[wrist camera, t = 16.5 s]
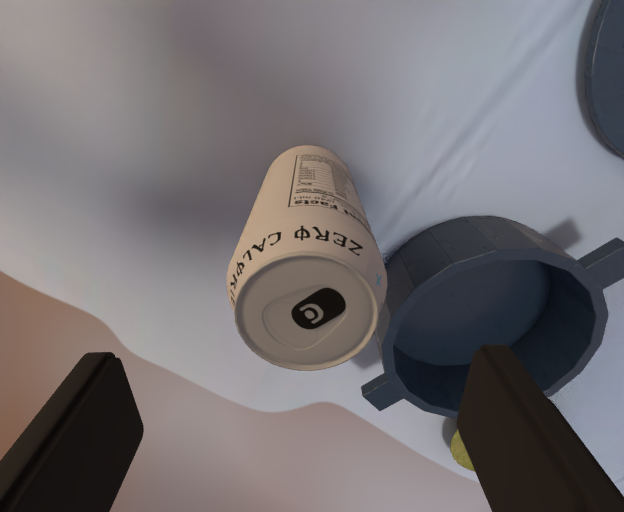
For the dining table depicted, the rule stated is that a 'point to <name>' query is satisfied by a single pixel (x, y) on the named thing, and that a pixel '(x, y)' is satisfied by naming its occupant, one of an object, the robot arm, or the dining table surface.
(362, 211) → the energy drink can
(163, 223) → the dining table surface
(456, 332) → the pan
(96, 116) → the dining table surface
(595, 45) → the pan lid
